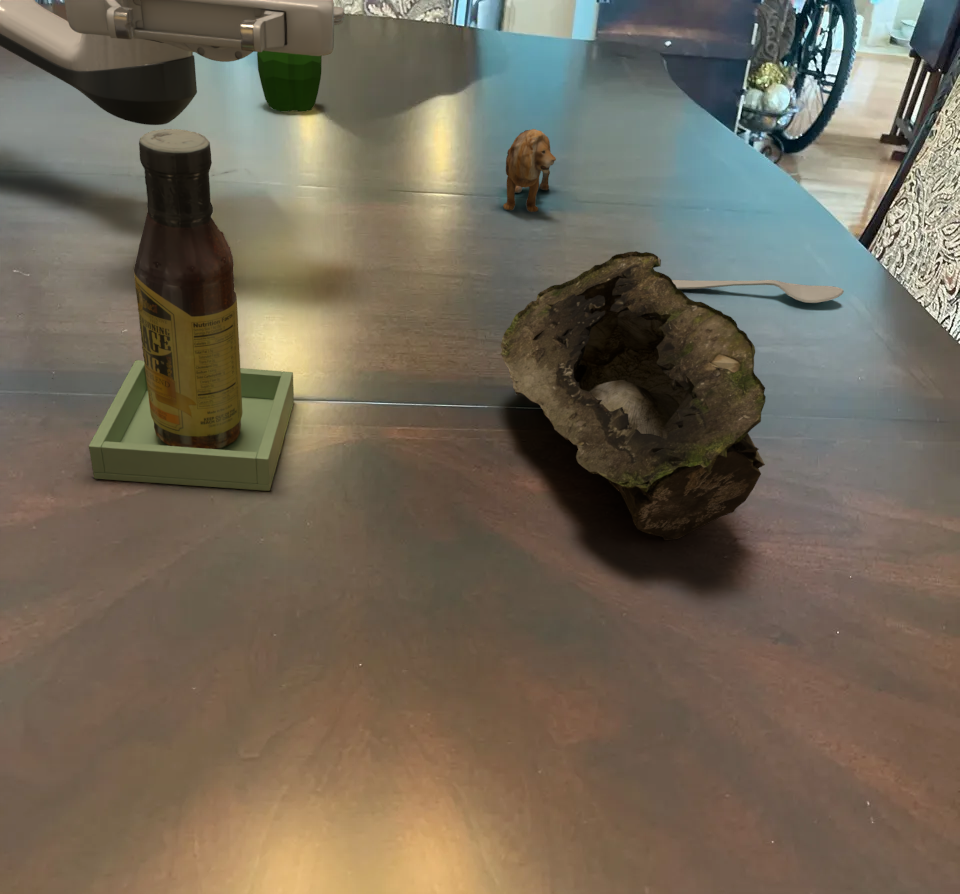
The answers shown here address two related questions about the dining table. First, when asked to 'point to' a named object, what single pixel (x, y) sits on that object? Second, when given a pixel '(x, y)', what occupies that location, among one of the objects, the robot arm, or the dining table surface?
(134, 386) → the green tray
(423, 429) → the dining table surface
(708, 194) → the dining table surface
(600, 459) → the brown hollow wooden log
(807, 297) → the spoon
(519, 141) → the lion figurine
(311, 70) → the bell pepper
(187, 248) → the sauce bottle
